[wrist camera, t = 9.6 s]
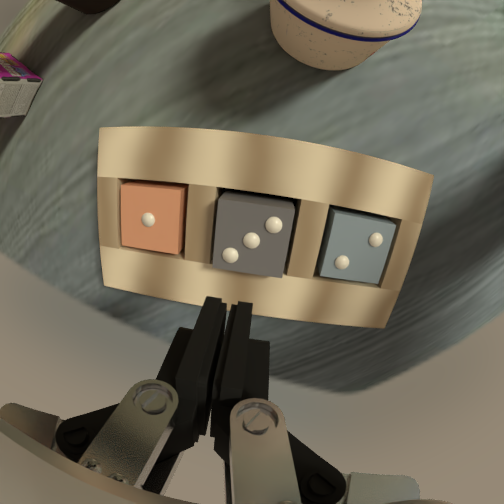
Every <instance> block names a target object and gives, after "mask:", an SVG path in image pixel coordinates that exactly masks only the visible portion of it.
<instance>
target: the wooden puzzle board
mask: <svg viewBox="0 0 504 504" xmlns="http://www.w3.org/2000/svg"><path fill="white" fill-rule="evenodd" d="M433 178H434V175H431V174H428V173H425V172H422V171H419V170H416V169H413V168H410V167H407V166H403V165H400V164H397V163H393V162H390V161H386V160H383V159H379V158H375V157H371V156H368V155H364V154H360V153H356V152H351V151H347V150H343V149H338V148H334V147H329V146H324V145H319V144H314V143H309V142H304V141H298V140H292V139H286V138H280V137H273V136H266V135H259V134H251V133H243V132H234V131H223V130H212V129H198V128H179V127H105V128H100V132H99V146H98V173H97V200H98V226H99V242H100V253H101V263H102V272H103V280H104V285H105V286H109V287H113V288H117V289H121V290H126V291H130V292H135V293H139V294H144V295H149V296H153V297H158V298H163V299H168V300H173V301H178V302H183V303H189V304H194V305H200V306H203V304H204V301H205V299H206V296H211V297H217V298H222V302H223V303H227V310H229V311H230V309H231V304H235V305H237V304H238V301H242V302H249V303H253V309H252V314H255V315H262V316H269V317H276V318H284V319H291V320H300V321H308V322H317V323H326V324H336V325H347V326H358V327H371V328H385V326H386V324H387V321H388V319H389V317H390V314H391V312H392V310H393V307H394V305H395V302H396V300H397V297H398V295H399V292H400V290H401V287H402V285H403V282H404V279H405V276H406V274H407V271H408V268H409V265H410V262H411V259H412V256H413V253H414V250H415V247H416V244H417V241H418V237H419V234H420V230H421V227H422V223H423V220H424V216H425V212H426V208H427V204H428V200H429V196H430V192H431V187H432V183H433ZM134 179H143V180H155V181H167V182H177V183H187V184H189V190H188V204H187V220H186V239H185V246H184V247H183V249H182V250H181V251H180V252H179V254H172V253H166V252H159V251H153V250H147V249H141V248H135V247H129V246H123V245H122V236H121V185H122V184H125V183H128V182H130V181H133V180H134ZM223 188H230V189H238V190H245V191H252V192H259V193H266V194H273V195H279V196H285V197H292V198H297V201H296V206H295V213H294V219H293V224H292V230H291V235H290V240H289V245H288V251H287V256H286V261H285V266H284V271H283V276H282V278H276V277H270V276H263V275H256V274H249V273H243V272H236V271H230V270H224V269H217V268H212V266H213V253H214V241H215V230H216V219H217V209H218V199H219V198H220V197H221V196H222V191H223ZM329 204H331V205H337V206H342V207H347V208H352V209H357V210H362V211H367V212H371V213H376V214H380V215H385V216H386V218H387V219H389V220H390V221H391V222H393V223H394V224H395V225H396V228H395V231H394V235H393V238H392V242H391V245H390V249H389V252H388V255H387V258H386V261H385V265H384V268H383V271H382V274H381V277H380V280H379V282H378V284H375V283H368V282H360V281H353V280H346V279H338V278H331V277H324V276H320V274H319V271H318V267H317V264H316V262H317V257H318V253H319V249H320V245H321V240H322V236H323V231H324V227H325V222H326V218H327V213H328V208H329Z"/></svg>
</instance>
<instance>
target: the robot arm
mask: <svg viewBox="0 0 504 504" xmlns="http://www.w3.org/2000/svg"><path fill="white" fill-rule="evenodd" d="M252 309H253V303H249V302H242V301H238V304H237V305H235V304H231V309H230V313H229V317H228V321H227V326H226V330H225V320H226V310H227V303H223V302H222V298H217V297H211V296H206V299H205V301H204V304H203V306H202V309H201V311H200V314H199V316H198V319H197V322H196V324H195V327H194V329H188V328H183V327H180V328H179V329H178V331H177V333H176V335H175V337H174V339H173V341H172V344H171V346H170V348H169V350H168V353H167V355H166V357H165V360H164V362H163V364H162V366H161V369H160V371H159V373H158V375H157V378H156V380H154V379H153V380H152V379H149V380H144V381H140V382H138V383H137V384H135V385H134V386H133V387H132V388H131V389H130V390H129V391H128V393H127V394H126V395H125V397H124V398H123V400H122V401H121V402H120V403H118V404H115V405H112V406H109V407H106V408H103V409H100V410H96V411H93V412H90V413H87V414H83V415H80V416H76V417H73V418H69V419H67V420H61V419H60V417H59V416H55V415H52V414H48V413H45V412H41V411H38V410H34V409H31V408H28V407H25V406H22V405H19V404H16V403H8V404H5V405H4V406H3V407H1V409H0V504H197V503H192V502H187V501H183V500H178V499H174V498H170V497H166V496H164V494H165V492H166V490H167V488H168V485H169V484H170V481H171V479H172V477H173V475H174V473H175V471H176V469H177V467H178V465H179V462H180V460H181V458H182V456H183V452H184V450H186V449H188V448H190V447H193V446H194V443H195V442H198V439H199V435H204V436H205V434H206V430H207V426H208V421H209V416H210V411H211V428H210V437H215V442H214V450H215V451H216V453H217V454H218V455H219V456H220V457H221V458H222V459H223V460H224V461H223V469H224V490H225V504H452V503H449V502H445V501H441V500H432V499H420V490H419V485H418V483H417V482H416V480H415V479H413V478H411V477H409V476H404V475H377V474H366V473H355V472H351V474H344V473H340V472H339V471H338V470H337V469H336V468H335V467H333V466H332V465H330V464H329V463H328V462H326V461H325V460H324V459H322V458H320V456H318V455H317V454H316V453H314V452H313V451H312V450H311V449H309V448H308V447H307V446H306V445H304V444H303V443H302V442H301V441H299V440H298V439H297V438H296V437H294V436H293V435H292V434H291V433H290V432H288V431H287V428H286V424H285V419H284V416H283V413H282V411H281V410H280V409H279V408H278V406H276V405H275V404H273V403H272V402H270V401H268V387H269V353H270V342H269V341H262V340H255V339H249V335H250V326H251V317H252ZM224 330H225V334H224ZM211 407H212V408H211ZM211 409H212V410H211Z"/></svg>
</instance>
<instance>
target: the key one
mask: <svg viewBox="0 0 504 504" xmlns="http://www.w3.org/2000/svg"><path fill="white" fill-rule="evenodd" d="M188 190H189V184H187V183H177V182H167V181H155V180H143V179H136V180H133V181H130V182H128V183H125V184H122V185H121V236H122V245H123V246H129V247H135V248H141V249H147V250H153V251H159V252H166V253H172V254H179V252H180V251H181V250H182V249H183V247H184V246H185V239H186V220H187V204H188Z"/></svg>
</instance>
